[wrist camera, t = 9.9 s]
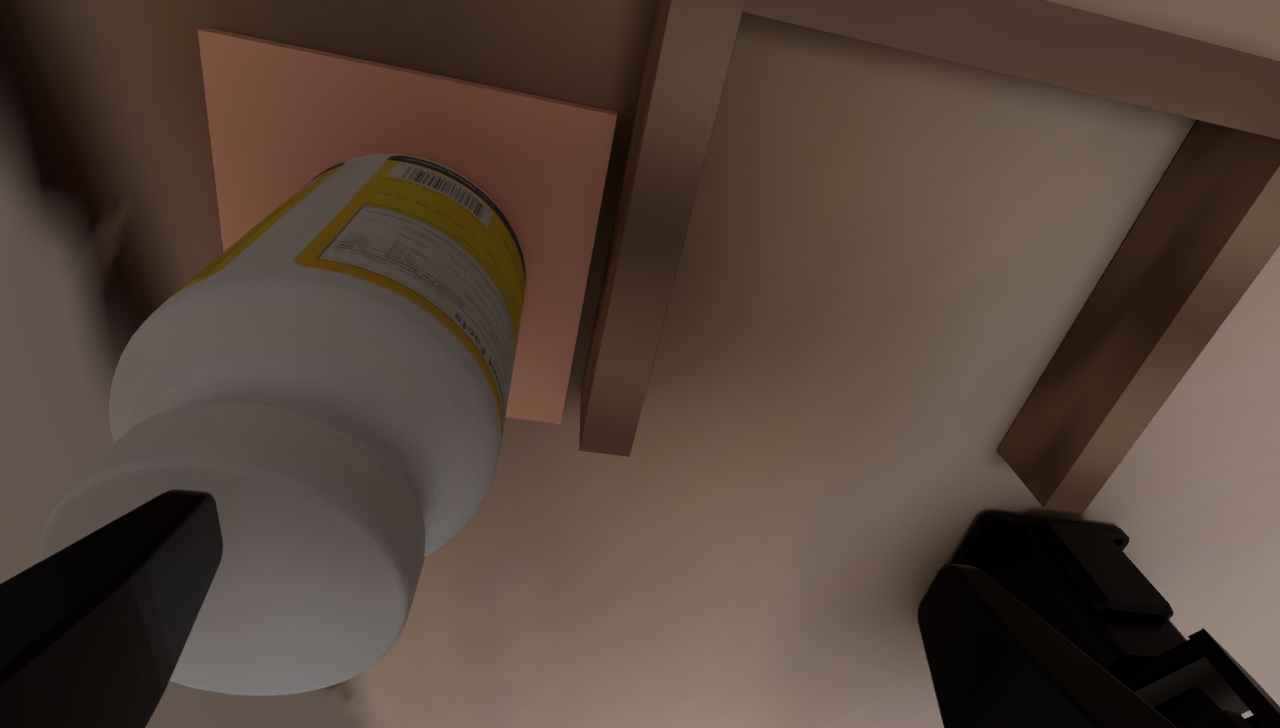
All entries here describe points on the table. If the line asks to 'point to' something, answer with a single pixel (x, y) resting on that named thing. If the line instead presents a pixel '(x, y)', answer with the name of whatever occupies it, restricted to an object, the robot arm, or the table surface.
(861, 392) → the table surface
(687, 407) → the table surface
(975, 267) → the table surface
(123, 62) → the table surface
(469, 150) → the terracotta mat
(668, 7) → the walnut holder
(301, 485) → the pill bottle
